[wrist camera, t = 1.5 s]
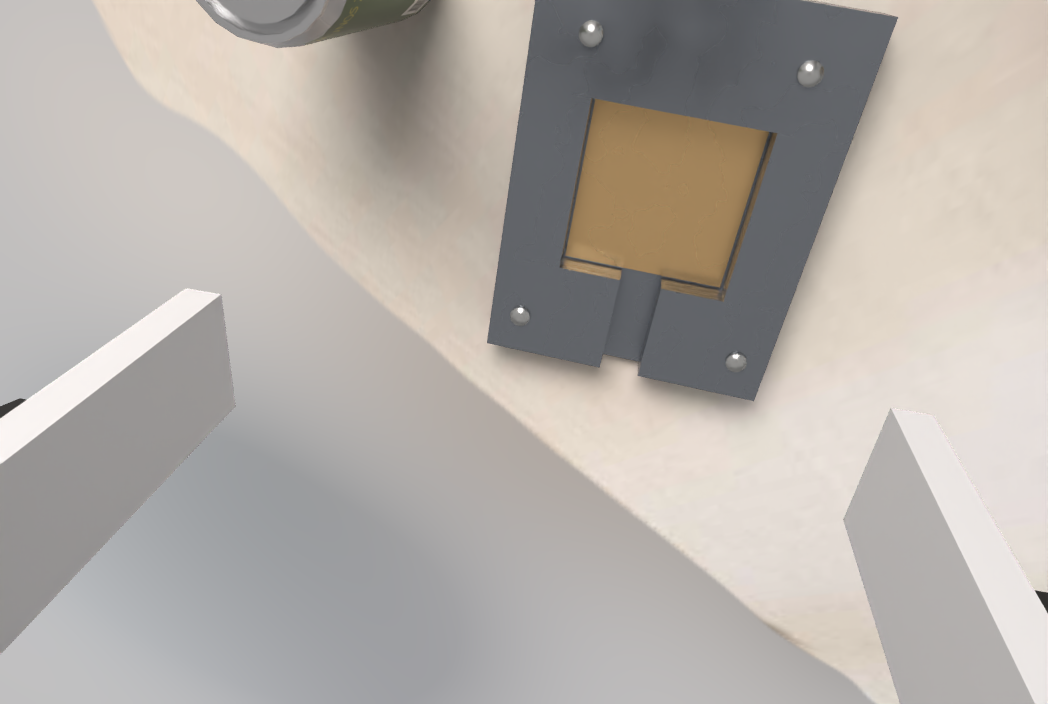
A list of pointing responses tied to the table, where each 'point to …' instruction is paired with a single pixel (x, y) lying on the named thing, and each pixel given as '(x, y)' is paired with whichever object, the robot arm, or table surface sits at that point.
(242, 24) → the beer can
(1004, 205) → the table surface
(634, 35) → the chassis plate
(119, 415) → the robot arm
